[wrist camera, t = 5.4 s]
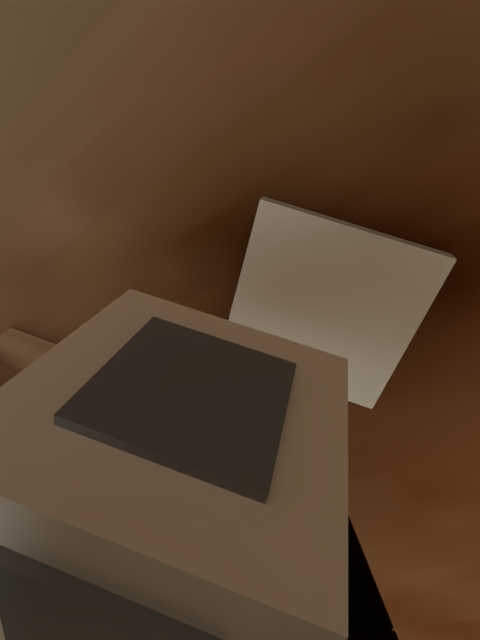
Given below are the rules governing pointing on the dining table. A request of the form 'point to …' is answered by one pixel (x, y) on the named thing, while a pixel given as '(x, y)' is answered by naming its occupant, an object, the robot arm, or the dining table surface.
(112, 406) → the cream grey-paneled cube
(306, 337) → the cream square tile
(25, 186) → the dining table surface
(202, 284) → the dining table surface
